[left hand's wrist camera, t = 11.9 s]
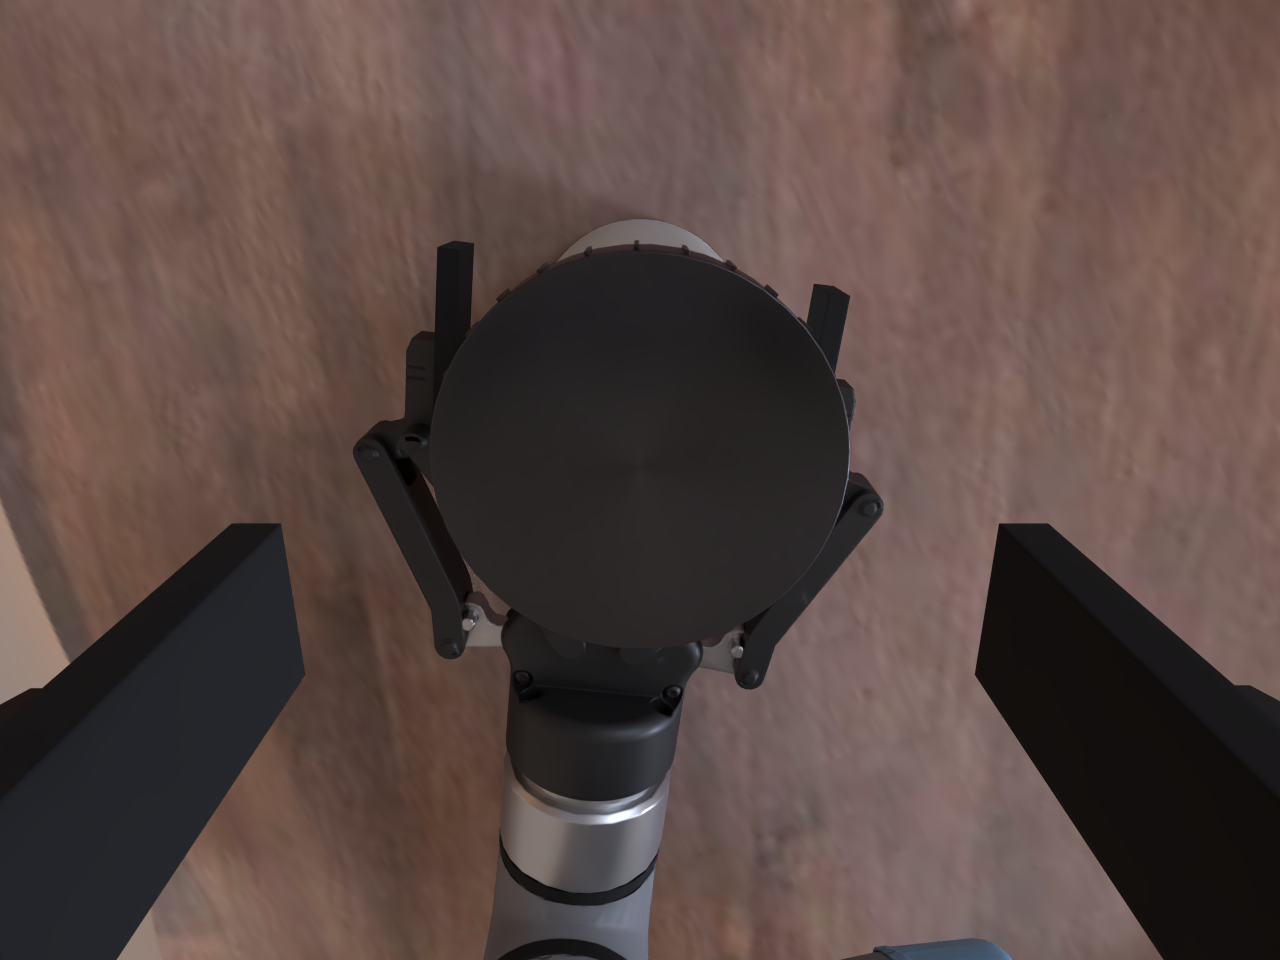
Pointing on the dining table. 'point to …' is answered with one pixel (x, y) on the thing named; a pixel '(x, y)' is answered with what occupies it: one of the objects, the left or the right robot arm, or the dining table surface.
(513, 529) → the lid
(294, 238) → the dining table surface
